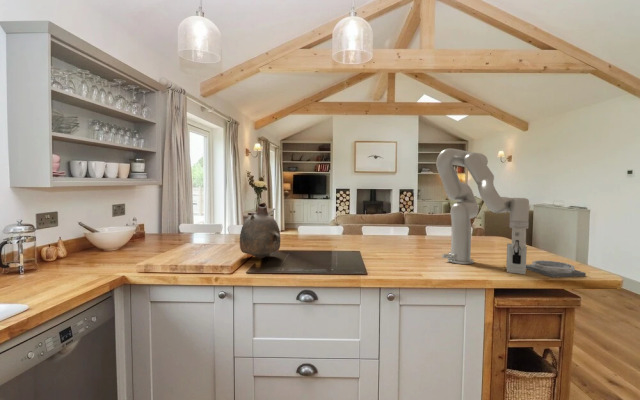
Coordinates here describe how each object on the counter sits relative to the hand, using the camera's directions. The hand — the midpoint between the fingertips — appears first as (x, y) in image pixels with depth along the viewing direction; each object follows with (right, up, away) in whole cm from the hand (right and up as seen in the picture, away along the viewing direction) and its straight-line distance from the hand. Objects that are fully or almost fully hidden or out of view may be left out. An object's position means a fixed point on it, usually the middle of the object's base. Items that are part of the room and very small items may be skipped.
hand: (517, 261), depth 155 cm
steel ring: (+17, -3, +1) cm, 17 cm away
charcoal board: (+17, -5, +1) cm, 18 cm away
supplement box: (-1, -5, +1) cm, 5 cm away
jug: (-124, -3, +24) cm, 126 cm away
